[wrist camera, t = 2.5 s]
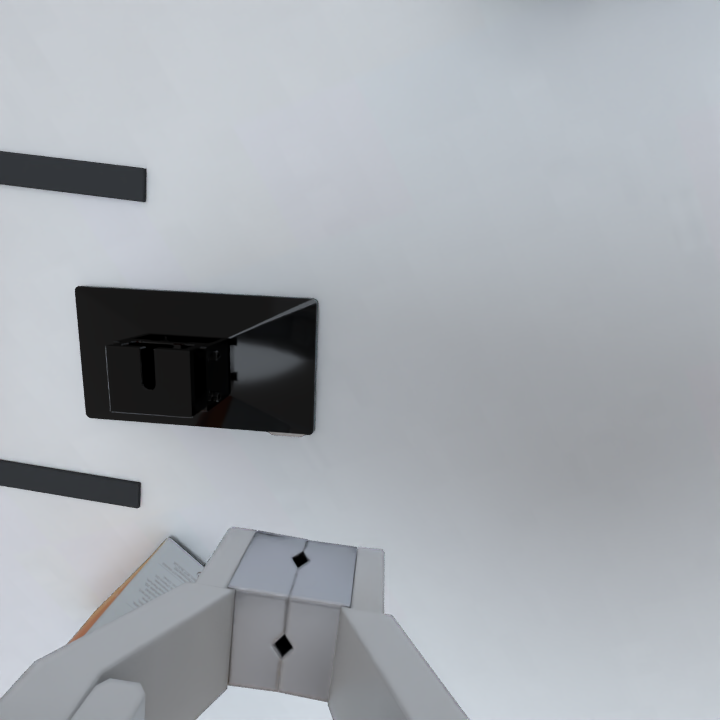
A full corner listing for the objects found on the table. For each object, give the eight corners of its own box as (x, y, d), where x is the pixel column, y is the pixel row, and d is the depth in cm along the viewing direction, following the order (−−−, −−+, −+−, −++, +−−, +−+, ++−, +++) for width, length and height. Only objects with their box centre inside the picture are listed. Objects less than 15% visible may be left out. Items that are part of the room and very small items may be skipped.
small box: (171, 532, 24) (7, 722, 14) (243, 596, 25) (134, 825, 15) (91, 612, 26) (-109, 833, 16) (160, 670, 26) (10, 924, 16)
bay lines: (146, 169, 20) (143, 168, 20) (139, 506, 24) (137, 508, 24) (-59, 144, 21) (-63, 143, 21) (-34, 477, 25) (-37, 479, 25)
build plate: (318, 298, 21) (298, 305, 17) (315, 436, 23) (295, 478, 18) (78, 285, 22) (-4, 289, 17) (90, 420, 23) (17, 456, 19)
